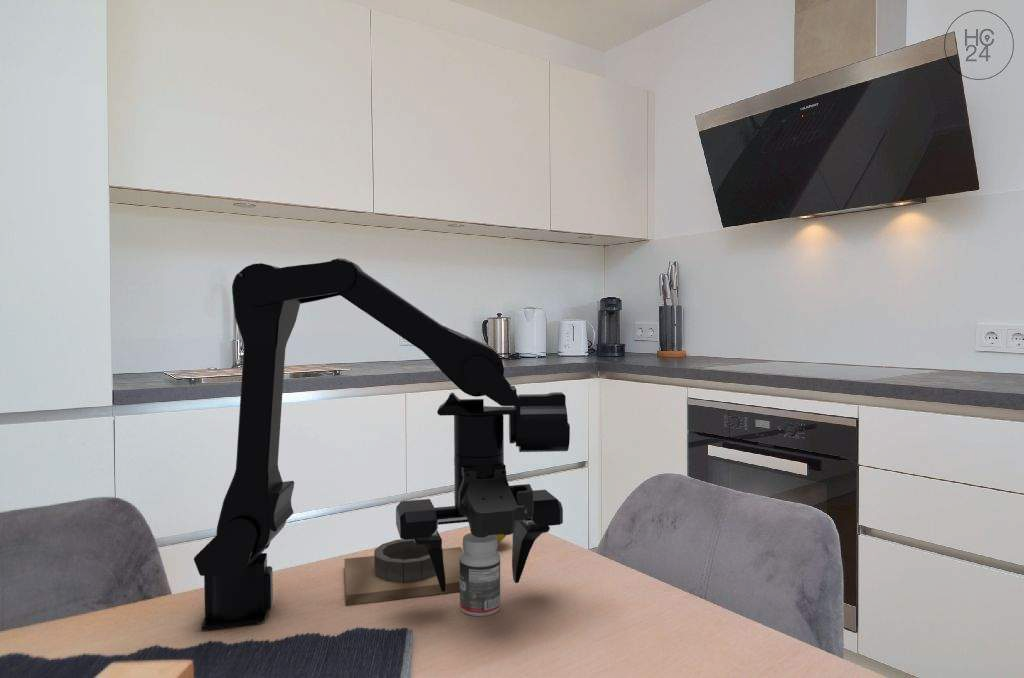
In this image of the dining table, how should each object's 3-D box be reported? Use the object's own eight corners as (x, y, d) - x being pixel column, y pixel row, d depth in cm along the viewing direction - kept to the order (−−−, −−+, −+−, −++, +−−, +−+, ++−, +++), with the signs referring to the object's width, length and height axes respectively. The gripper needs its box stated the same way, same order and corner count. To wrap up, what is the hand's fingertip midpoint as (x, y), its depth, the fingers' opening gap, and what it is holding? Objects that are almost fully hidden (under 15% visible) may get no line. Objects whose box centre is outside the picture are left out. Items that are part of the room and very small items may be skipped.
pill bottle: (461, 599, 77) (460, 530, 76) (500, 598, 77) (500, 529, 76) (458, 617, 72) (458, 544, 72) (500, 616, 72) (500, 543, 72)
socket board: (346, 605, 75) (345, 574, 75) (344, 567, 87) (344, 540, 86) (479, 589, 79) (478, 559, 79) (460, 555, 91) (460, 529, 91)
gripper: (405, 474, 63) (406, 629, 64) (580, 462, 68) (580, 605, 69) (394, 452, 74) (396, 585, 75) (546, 443, 79) (547, 567, 80)
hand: (479, 586), depth 74 cm, fingers open, 8 cm apart
